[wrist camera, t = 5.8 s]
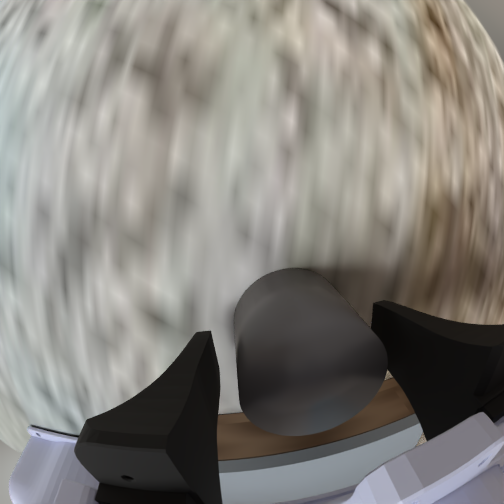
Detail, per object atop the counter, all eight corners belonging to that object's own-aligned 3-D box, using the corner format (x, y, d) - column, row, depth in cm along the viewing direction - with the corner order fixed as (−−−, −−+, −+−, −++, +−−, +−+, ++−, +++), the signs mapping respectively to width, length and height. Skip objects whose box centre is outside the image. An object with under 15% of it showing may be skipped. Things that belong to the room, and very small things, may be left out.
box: (217, 493, 18) (217, 522, 14) (177, 417, 14) (171, 460, 11) (369, 464, 18) (381, 490, 15) (397, 376, 15) (422, 409, 12)
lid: (217, 523, 14) (218, 530, 13) (170, 462, 11) (169, 473, 10) (381, 490, 15) (384, 497, 14) (422, 409, 12) (429, 418, 11)
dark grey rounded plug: (241, 369, 14) (249, 445, 9) (225, 276, 12) (226, 339, 7) (338, 351, 14) (376, 416, 9) (339, 260, 13) (396, 307, 8)
